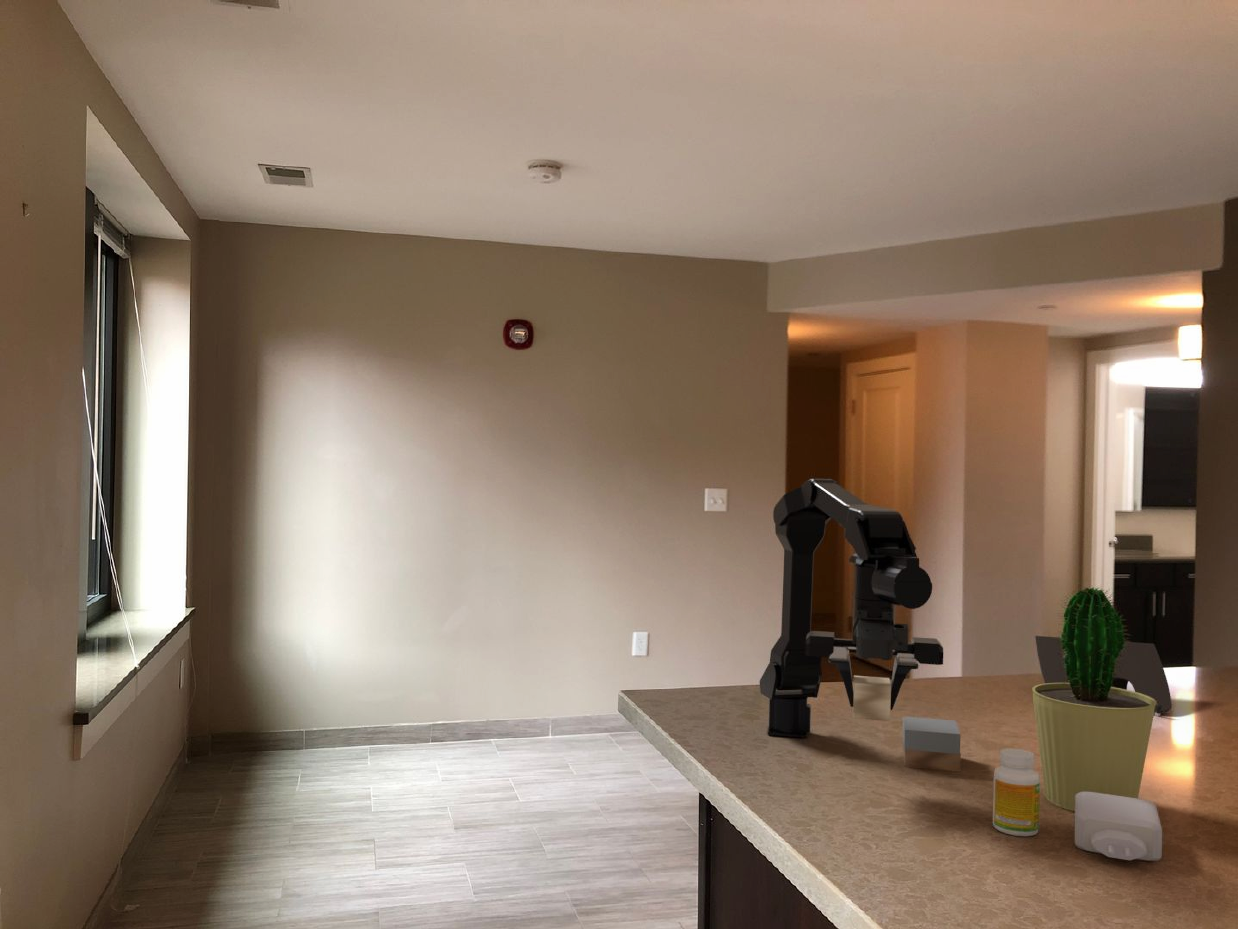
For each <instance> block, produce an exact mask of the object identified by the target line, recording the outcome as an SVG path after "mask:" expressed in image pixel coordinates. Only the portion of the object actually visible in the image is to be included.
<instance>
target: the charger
mask: <svg viewBox="0 0 1238 929" xmlns="http://www.w3.org/2000/svg"><path fill="white" fill-rule="evenodd" d="M1074 846H1075V847H1076V848H1078V849H1080V850H1083V851H1086V852H1089V853H1090V852H1091V853H1097V854H1103V855H1104V856H1106V857H1107V858H1112V859H1119V860H1126V861H1132V860H1138V861H1147V862H1157V861H1160V860H1162V854H1163V853H1162V852H1163V850H1162V849H1163V827H1162V824H1161V821H1160V816H1159V812H1158V808H1157V805H1156V804H1155V803H1153V802H1152V801H1149V800H1147V799H1142V798H1138V799H1137V798H1130V797H1123V796H1116V795H1109V794H1102V793H1095V792H1080V793H1078V794H1076V796H1075V812H1074Z"/></svg>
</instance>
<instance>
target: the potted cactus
mask: <svg viewBox="0 0 1238 929" xmlns="http://www.w3.org/2000/svg"><path fill="white" fill-rule="evenodd" d="M1081 585H1082V584H1081V583H1080V586H1081ZM1077 587H1078V588H1077V590H1076V591H1075V592H1074V591H1072V593H1071V592H1070V594H1071V596H1070V594H1067V595H1068V596H1069V598H1068V597H1067V596H1066V595H1064V598H1065V597H1066V598H1067V599H1066V598H1065V600H1066V601H1065V600H1064V599H1063V601H1062V599H1060V601H1061V602H1063V604H1062V603H1061V604H1060V605H1061V606H1060V607H1061V608H1063V609H1064V611H1062V610H1061V612H1060V613H1057V614H1059V617H1061V618H1063V623H1060V625H1062V627H1061V628H1062V631H1061V633H1060V634H1059V633H1058V635H1060V636H1054V637H1055V638H1058V637H1060V638H1061V642H1060V641H1059V642H1060V643H1061V644H1062V648H1063V650H1064V651H1063V652H1064V653H1066V655H1065V654H1063V656H1062V654H1061V656H1062V657H1064V656H1065V660H1064V661H1061V662H1065V666H1063V667H1065V668H1066V670H1060V671H1066V674H1067V679H1068V680H1065V681H1066V682H1067V681H1069V682H1070V683H1046V684H1045V683H1041V684H1037V685H1034V686H1032V688H1031V689H1032V702H1033V709H1034V715H1035V716H1034V717H1035V725H1036V731H1037V732H1036V733H1037V742H1038V750H1039V756H1040V758H1039V759H1040V765H1041V772H1042V783H1043V791H1044V794H1045V798H1046V800H1047V801H1048V802H1049V803H1051V804H1053V805H1054V806H1057V807H1058V808H1062V809H1065V810H1069V811H1071V812H1074V813H1075V796H1076V794H1078V793H1080V792H1095V793H1102V794H1109V795H1116V796H1123V797H1130V798H1137V799H1139V795H1140V789H1141V784H1142V778H1143V773H1144V768H1145V762H1146V758H1147V752H1148V748H1149V747H1148V746H1149V742H1150V737H1151V731H1152V727H1153V726H1152V725H1153V720H1154V716H1155V715H1154V708H1155V705H1156V704H1157V703H1156V700H1154V699H1153V698H1151V697H1149V696H1147V695H1144V694H1141V693H1137V692H1135V690H1129V689H1127V690H1125V689H1120V688H1117V687H1116V688H1115V687H1113V686H1112V687H1111V685H1112V684H1113V683H1112V681H1113V675H1115V676H1117V675H1116V674H1115V673H1114V669H1115V667H1117V666H1115V664H1116V663H1115V660H1116V658H1117V657H1118V656H1119V653H1120V651H1121V650H1122V649H1124V648H1125V647H1124V646H1125V645H1124V642H1129V640H1128V639H1131V638H1132V637H1133V635H1132V634H1129V636H1131V637H1127V636H1126V635H1127V633H1124V632H1129V631H1131V630H1130V629H1128V630H1127V628H1126V629H1125V627H1129V626H1130V625H1126V624H1125V625H1124V623H1122V621H1123V619H1122V617H1123V616H1124V614H1121V615H1120V616H1119V613H1120V610H1117V608H1116V601H1115V600H1116V598H1113V599H1111V597H1113V596H1114V592H1112V593H1111V594H1110V595H1109V592H1110V591H1111V589H1110V588H1111V587H1110V588H1108V589H1107V590H1105V589H1102V587H1100V589H1099V587H1096V588H1094V586H1092V587H1084V588H1080V587H1079V586H1077ZM1080 589H1081V590H1080ZM1108 595H1109V596H1108ZM1119 605H1120V604H1119ZM1119 605H1118V606H1119ZM1065 606H1066V607H1065ZM1061 613H1063V614H1061ZM1126 620H1128V618H1127V619H1125V621H1126ZM1057 631H1058V632H1059V630H1057ZM1054 634H1056V633H1054ZM1125 636H1126V637H1125ZM1060 643H1059V644H1060ZM1057 644H1058V642H1057ZM1125 644H1126V643H1125ZM1128 647H1129V646H1128ZM1124 650H1125V649H1124ZM1061 651H1062V650H1061ZM1126 651H1127V650H1126ZM1121 652H1122V651H1121ZM1124 652H1125V651H1124ZM1061 653H1062V652H1061ZM1058 654H1059V653H1058ZM1059 656H1060V655H1059ZM1120 656H1121V655H1120ZM1120 656H1119V657H1120ZM1120 658H1121V657H1120ZM1117 660H1118V659H1117ZM1117 660H1116V661H1117ZM1123 660H1124V659H1123ZM1119 661H1120V660H1119ZM1118 663H1120V662H1118ZM1116 665H1118V664H1116ZM1121 665H1123V664H1121ZM1058 668H1059V667H1058ZM1118 668H1120V667H1117V669H1118ZM1062 669H1063V668H1062ZM1117 669H1116V670H1117ZM1116 670H1115V671H1116ZM1119 670H1120V669H1119ZM1118 672H1120V671H1118ZM1063 674H1064V675H1065V673H1063ZM1061 675H1062V674H1061ZM1118 678H1119V676H1118ZM1064 679H1065V678H1064ZM1116 681H1117V680H1116ZM1113 685H1114V684H1113Z"/></svg>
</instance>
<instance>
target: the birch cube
mask: <svg viewBox="0 0 1238 929" xmlns="http://www.w3.org/2000/svg"><path fill="white" fill-rule="evenodd" d="M852 684H853V694H854V698H853V707H852V719H856V720H857V719H858V720H870V721H881V722H890V721H891V710H890V704H891V679H890V677H881V676H879V677H878V676H866V675H865V676H864V675H853V683H852Z"/></svg>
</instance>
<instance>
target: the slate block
mask: <svg viewBox="0 0 1238 929" xmlns="http://www.w3.org/2000/svg"><path fill="white" fill-rule="evenodd" d="M902 736H903V742H904V749H906V750H918V751H929V752H940V753H952V754H960V753H961V731H960V729H959V726H958V723H957V720H953V719H952V720H951V719H940V718H939V719H938V718H928V717H915V716H902Z"/></svg>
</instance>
